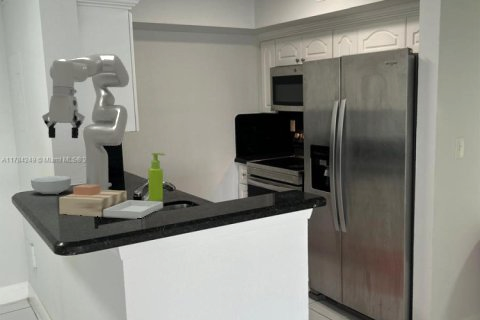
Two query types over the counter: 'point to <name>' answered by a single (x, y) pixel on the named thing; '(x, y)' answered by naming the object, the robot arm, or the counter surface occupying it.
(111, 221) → the counter surface
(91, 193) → the terracotta tile
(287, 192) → the counter surface
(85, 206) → the birch board
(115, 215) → the box
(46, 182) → the cereal bowl
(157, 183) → the soap dispenser
